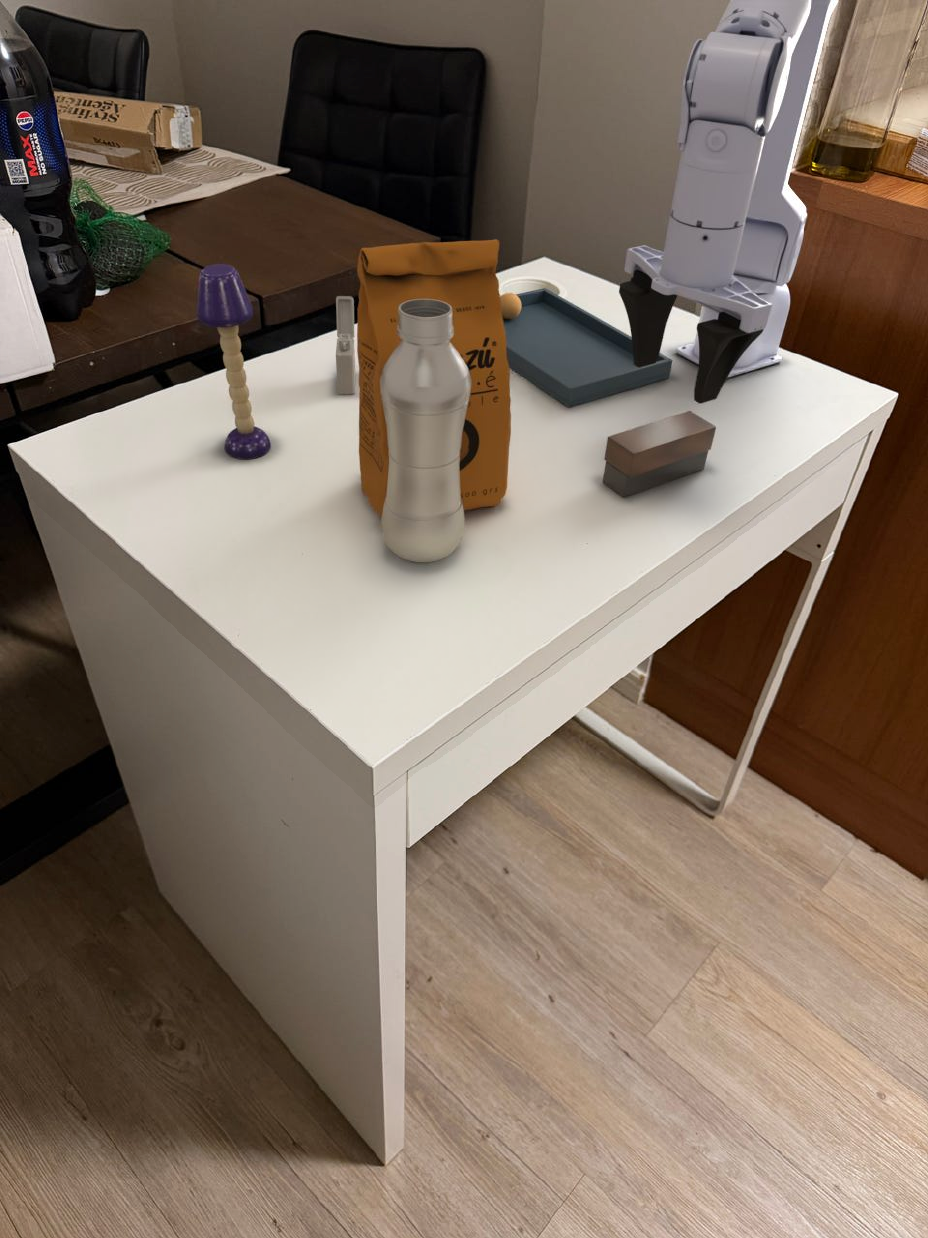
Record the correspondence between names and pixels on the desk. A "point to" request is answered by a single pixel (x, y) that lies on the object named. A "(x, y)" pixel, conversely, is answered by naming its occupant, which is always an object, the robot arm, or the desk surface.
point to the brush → (657, 453)
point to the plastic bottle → (424, 434)
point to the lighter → (345, 345)
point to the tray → (573, 351)
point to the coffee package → (478, 337)
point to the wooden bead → (510, 305)
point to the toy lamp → (232, 352)
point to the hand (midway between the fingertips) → (674, 381)
